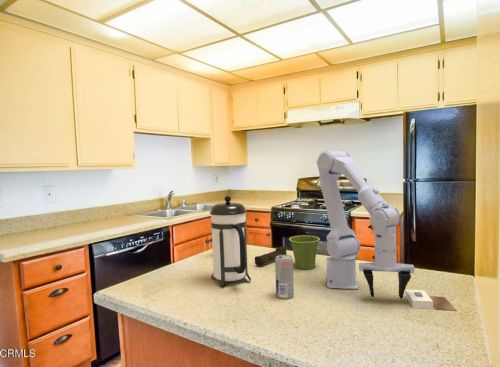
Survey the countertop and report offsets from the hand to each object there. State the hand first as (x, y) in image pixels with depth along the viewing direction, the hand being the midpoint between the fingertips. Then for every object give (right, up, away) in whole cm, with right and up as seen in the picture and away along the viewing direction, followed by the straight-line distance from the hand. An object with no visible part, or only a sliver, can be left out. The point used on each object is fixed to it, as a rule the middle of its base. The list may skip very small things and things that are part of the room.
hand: (386, 296), depth 93 cm
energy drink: (-28, -2, +6) cm, 29 cm away
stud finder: (+8, -1, -2) cm, 9 cm away
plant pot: (-17, -1, +34) cm, 38 cm away
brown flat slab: (+14, -1, -3) cm, 14 cm away
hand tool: (-33, -4, +39) cm, 51 cm away
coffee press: (-45, -2, +21) cm, 50 cm away
